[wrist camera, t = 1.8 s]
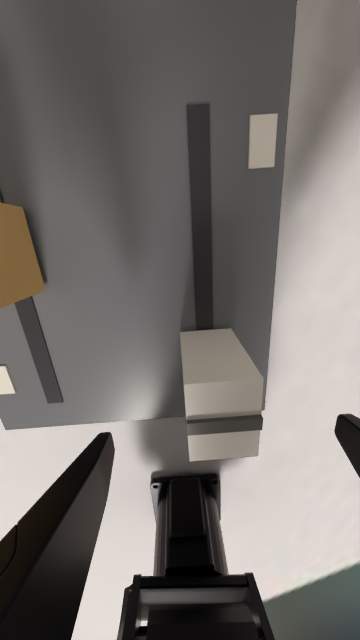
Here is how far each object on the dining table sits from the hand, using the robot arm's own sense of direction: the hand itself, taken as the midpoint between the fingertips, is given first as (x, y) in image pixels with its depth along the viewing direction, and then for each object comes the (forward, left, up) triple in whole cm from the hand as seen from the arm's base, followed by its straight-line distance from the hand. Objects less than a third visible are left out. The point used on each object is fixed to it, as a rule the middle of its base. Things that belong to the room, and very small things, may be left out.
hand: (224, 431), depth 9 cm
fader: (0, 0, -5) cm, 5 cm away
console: (+6, +5, -8) cm, 11 cm away
